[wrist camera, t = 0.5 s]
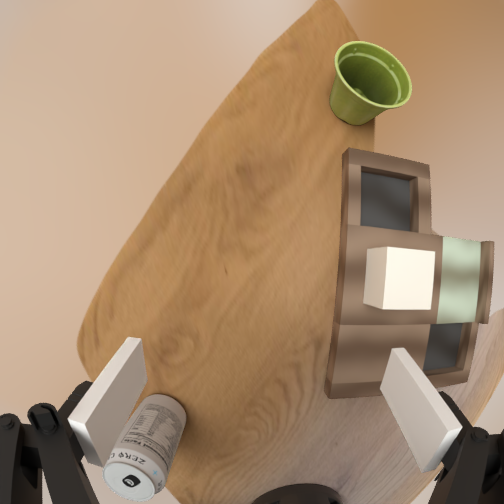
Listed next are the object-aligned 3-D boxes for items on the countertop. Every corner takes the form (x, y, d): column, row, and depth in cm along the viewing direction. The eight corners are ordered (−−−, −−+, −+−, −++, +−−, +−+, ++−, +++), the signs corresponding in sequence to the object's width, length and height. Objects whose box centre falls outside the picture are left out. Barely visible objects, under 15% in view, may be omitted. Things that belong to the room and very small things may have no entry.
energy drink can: (132, 407, 33) (84, 472, 18) (162, 382, 33) (119, 447, 18) (166, 438, 33) (135, 512, 18) (197, 415, 33) (176, 492, 18)
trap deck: (457, 377, 35) (475, 385, 30) (323, 390, 34) (334, 406, 29) (472, 183, 36) (490, 177, 31) (342, 154, 35) (354, 141, 30)
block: (407, 304, 32) (430, 309, 27) (363, 303, 32) (382, 309, 27) (411, 253, 32) (435, 251, 27) (367, 249, 32) (387, 246, 27)
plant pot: (363, 74, 36) (386, 39, 27) (393, 130, 35) (425, 102, 27) (306, 83, 35) (320, 44, 27) (335, 144, 35) (359, 113, 26)
